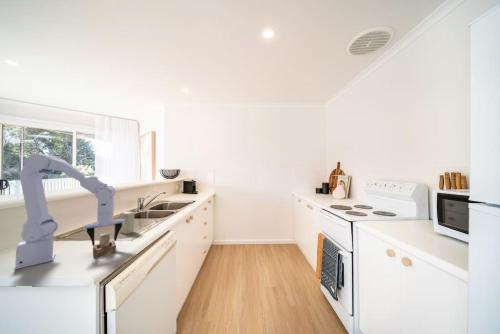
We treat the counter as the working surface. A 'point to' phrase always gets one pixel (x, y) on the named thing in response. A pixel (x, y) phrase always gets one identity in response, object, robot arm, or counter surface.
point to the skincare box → (127, 222)
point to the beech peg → (104, 240)
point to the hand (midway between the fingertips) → (104, 242)
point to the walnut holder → (104, 249)
